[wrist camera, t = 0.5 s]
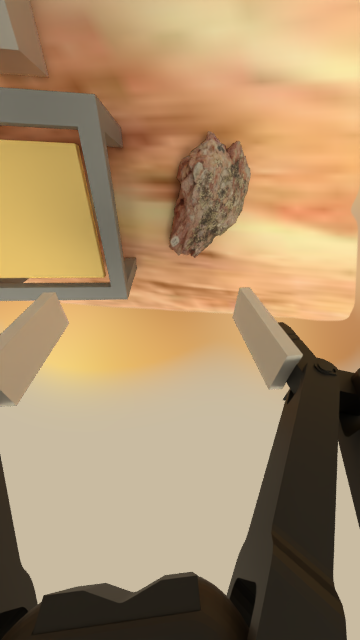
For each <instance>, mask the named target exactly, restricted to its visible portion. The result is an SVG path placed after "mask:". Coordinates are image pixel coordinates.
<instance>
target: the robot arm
mask: <svg viewBox="0 0 360 640" xmlns="http://www.w3.org/2000/svg"><path fill="white" fill-rule="evenodd" d="M233 319H234V321H235V323H236V325H237V327H238V329H239V331H240V333H241V335H242V337H243V339H244V341H245V343H246V345H247V347H248V349H249V351H250V353H251V355H252V357H253V359H254V361H255V363H256V365H257V367H258V369H259V371H260V373H261V375H262V377H263V379H264V381H265V383H266V385H267V387H268V389H282V388H283V387H284V385H285V383H286V382H287V384H288V386H289V387H290V389H289V391H288V393H287V394H286V395H285V397H284V398H283V400H285V404H284V408H283V411H282V415H281V418H280V422H279V425H278V429H277V432H276V436H275V439H274V443H273V446H272V450H271V453H270V457H269V461H268V464H267V468H266V471H265V475H264V478H263V482H262V485H261V489H260V493H259V496H258V500H257V503H256V507H255V510H254V514H253V518H252V521H251V524H250V528H249V532H248V535H247V538H246V540H245V542H244V544H243V546H242V549H241V551H240V553H239V556H238V559H237V562H236V565H235V569H234V572H233V575H232V579H231V582H230V586H229V589H228V593H227V596H226V595H225V594H224V593H223V592H222V591H221V590H220V589H218V588H217V587H216V586H215V585H213V584H212V583H210V582H209V581H207V580H205V579H203V578H202V577H199V576H197V575H196V574H195V573H193V572H187V573H179V574H172V575H165V576H163V577H161V578H160V579H158V580H156V581H154V582H153V583H151V584H149V585H148V586H146V587H144V588H142V589H141V590H139V591H137V592H130V591H127V590H124V589H121V588H119V587H116V586H113V585H110V584H107V583H103V584H95V585H87V586H79V587H74V588H70V589H67V590H63V591H59V592H55V593H51V594H47V595H44V596H43V599H42V602H41V603H40V604H37V599H36V594H35V590H34V586H33V583H32V580H31V578H30V576H29V574H28V573H27V572H26V571H25V570H24V569H23V567H22V565H21V562H20V558H19V552H18V547H17V542H16V536H15V531H14V526H13V520H12V515H11V510H10V505H9V499H8V494H7V488H6V483H5V478H4V472H3V467H2V462H1V456H0V640H347V636H346V621H345V615H344V610H343V606H342V603H341V601H340V599H339V597H338V594H337V592H336V590H335V587H334V582H333V559H334V533H335V507H336V480H337V452H338V442H339V446H340V450H341V454H342V458H343V462H344V466H345V470H346V474H347V478H348V482H349V487H350V490H351V495H352V499H353V503H354V507H355V511H356V515H357V519H358V523H359V527H360V368H359V369H358V370H357V371H356V373H351V372H347V371H341V370H338V369H337V368H336V367H335V366H334V365H333V364H332V363H330V362H328V361H326V360H324V359H320V358H316V357H315V355H313V353H312V352H311V351H310V350H309V348H308V347H307V346H306V345H305V344H304V343H303V341H301V340H300V338H299V337H298V336H297V335H296V333H295V332H294V331H293V330H292V329H291V327H289V326H287V325H286V324H284V323H283V322H280V323H277V321H276V320H275V319H274V318H273V316H272V315H271V314H270V313H269V311H268V310H267V309H266V308H265V306H264V305H263V304H262V303H261V301H260V300H259V299H258V298H257V296H256V295H255V294H254V293H253V291H252V290H251V289H250V288H239V292H238V296H237V301H236V305H235V309H234V314H233ZM68 324H69V322H68V320H67V317H66V315H65V313H64V311H63V308H62V306H61V304H60V302H59V299H58V297H57V295H56V293H55V292H44V293H43V294H42V295H41V296H40V297H38V298H37V299H36V300H35V301H34V302H33V303H32V304H31V305H30V306H29V307H28V308H27V309H26V310H25V311H24V312H23V313H22V314H21V315H20V316H19V317H18V318H17V319H16V320H15V321H14V322H13V323H12V324H11V325H10V326H9V327H8V328H6V329H5V331H3V332H2V333H1V334H0V407H2V406H16V405H17V404H18V403H19V401H20V399H21V398H22V396H23V395H24V393H25V392H26V390H27V388H28V387H29V385H30V384H31V382H32V381H33V379H34V378H35V376H36V374H37V373H38V371H39V370H40V368H41V366H42V365H43V363H44V362H45V360H46V359H47V357H48V356H49V354H50V352H51V351H52V349H53V347H54V346H55V345H56V343H57V342H58V340H59V338H60V337H61V335H62V334H63V332H64V331H65V329H66V327H67V326H68Z"/></svg>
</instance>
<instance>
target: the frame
mask: <svg viewBox="0 0 360 640" xmlns="http://www.w3.org/2000/svg"><path fill="white" fill-rule="evenodd" d="M0 125H3V126H20V127H37V128H54V129H72V130H78V132H79V137H80V142H81V146H82V151H83V156H84V161H85V165H86V170H87V175H88V179H89V184H90V189H91V194H92V198H93V203H94V208H95V212H96V217H97V222H98V227H99V231H100V236H101V241H102V246H103V250H104V255H105V260H106V264H107V269H108V274H109V279H110V283H23V282H25V281H26V280H27V279H29V278H0V301H28V300H36V299H37V298H38V297H40V296H41V295H42V294H43V293H44V292H55V293H56V295H57V297H58V299H59V300H108V299H128V296H129V293H130V289H131V286H132V283H133V279H134V276H135V272H136V269H137V265H136V258H125V260H124V258H123V251H122V245H121V238H120V232H119V225H118V218H117V212H116V205H115V199H114V192H113V186H112V179H111V172H110V166H109V159H108V153H107V146H109V147H122V148H123V142H122V133H121V127H120V126H119V125H118V123H117V122H116V121H115V120H114V118H113V117H112V116H111V114H110V113H109V112H108V111H107V109H106V108H105V107H104V105H103V104H102V103H101V102H100V100H99V99H98V98H97V96H96V95H95V94H84V93H71V92H57V91H44V90H30V89H16V88H3V87H0ZM106 145H107V146H106Z"/></svg>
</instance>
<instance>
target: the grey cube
mask: <svg viewBox="0 0 360 640" xmlns="http://www.w3.org/2000/svg"><path fill="white" fill-rule="evenodd" d="M0 74H12V75H24V76H37V77H49V76H48V72H47V68H46V64H45V60H44V56H43V52H42V48H41V44H40V40H39V36H38V32H37V28H36V24H35V20H34V16H33V11H32V7H31V3H30V0H0Z"/></svg>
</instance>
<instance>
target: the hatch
mask: <svg viewBox="0 0 360 640" xmlns="http://www.w3.org/2000/svg"><path fill="white" fill-rule="evenodd" d="M105 276H106V272H105V268H104V263H103V258H102V253H101V249H100V244H99V239H98V235H97V230H96V225H95V220H94V216H93V211H92V206H91V201H90V197H89V192H88V187H87V183H86V178H85V173H84V168H83V164H82V159H81V154H80V149H79V145H77V144H75V143H56V142H37V141H18V140H0V278H104V277H105Z"/></svg>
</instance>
